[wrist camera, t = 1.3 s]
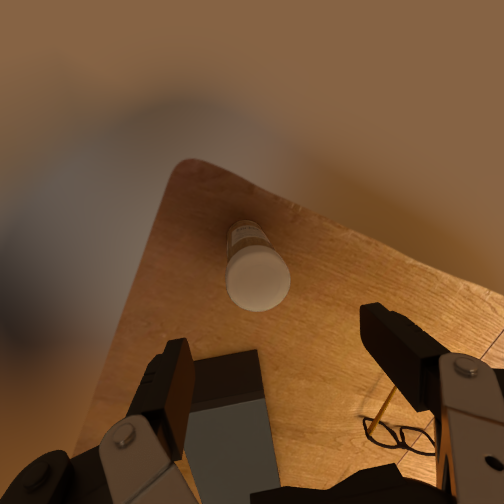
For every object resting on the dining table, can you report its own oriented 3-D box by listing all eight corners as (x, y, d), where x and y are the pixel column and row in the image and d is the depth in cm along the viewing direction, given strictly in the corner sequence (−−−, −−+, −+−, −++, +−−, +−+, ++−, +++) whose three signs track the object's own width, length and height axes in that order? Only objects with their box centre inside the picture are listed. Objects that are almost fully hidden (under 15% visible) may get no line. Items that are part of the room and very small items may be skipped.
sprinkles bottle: (222, 250, 30) (217, 306, 17) (232, 214, 29) (235, 244, 16) (258, 259, 31) (279, 320, 18) (269, 224, 29) (301, 262, 17)
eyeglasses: (352, 419, 40) (365, 445, 36) (396, 347, 36) (415, 367, 33) (423, 434, 43) (442, 460, 39) (470, 368, 39) (496, 389, 35)
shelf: (185, 362, 34) (166, 445, 24) (256, 349, 34) (269, 424, 24) (220, 486, 42) (218, 590, 31) (278, 474, 42) (295, 572, 32)
